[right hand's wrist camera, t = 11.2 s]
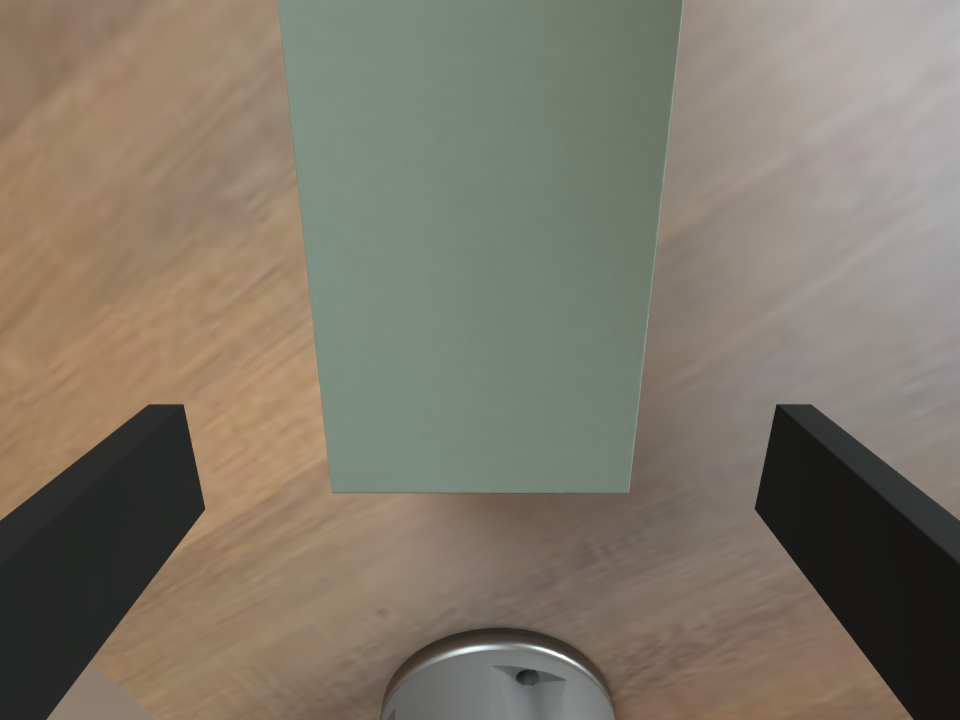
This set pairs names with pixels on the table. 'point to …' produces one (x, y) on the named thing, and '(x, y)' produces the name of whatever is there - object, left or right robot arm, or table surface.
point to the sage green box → (480, 233)
